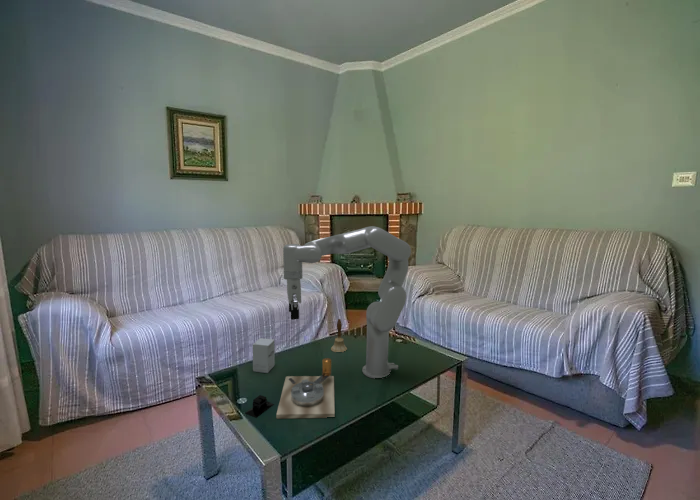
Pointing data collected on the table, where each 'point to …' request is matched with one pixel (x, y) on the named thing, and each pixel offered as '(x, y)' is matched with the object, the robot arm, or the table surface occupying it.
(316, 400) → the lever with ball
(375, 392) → the table surface
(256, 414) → the black stand with base
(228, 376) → the table surface
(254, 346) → the supplement box
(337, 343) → the hand bell
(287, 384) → the birch board
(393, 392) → the table surface
